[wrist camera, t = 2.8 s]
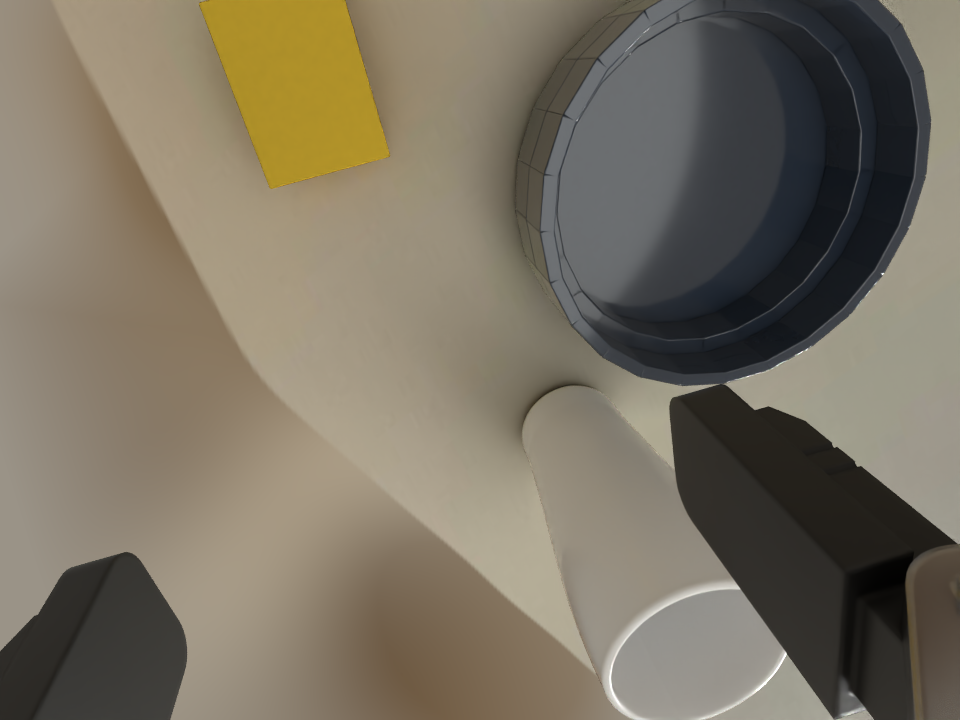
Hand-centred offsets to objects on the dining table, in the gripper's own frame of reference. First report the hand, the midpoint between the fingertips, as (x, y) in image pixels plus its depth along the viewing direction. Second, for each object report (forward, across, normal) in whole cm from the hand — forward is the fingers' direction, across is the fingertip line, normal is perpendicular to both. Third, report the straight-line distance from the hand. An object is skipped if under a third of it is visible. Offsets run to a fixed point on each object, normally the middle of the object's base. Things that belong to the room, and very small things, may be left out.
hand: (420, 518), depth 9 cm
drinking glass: (+21, -6, +13) cm, 25 cm away
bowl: (+20, -14, +2) cm, 25 cm away
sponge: (+20, +1, -6) cm, 21 cm away
